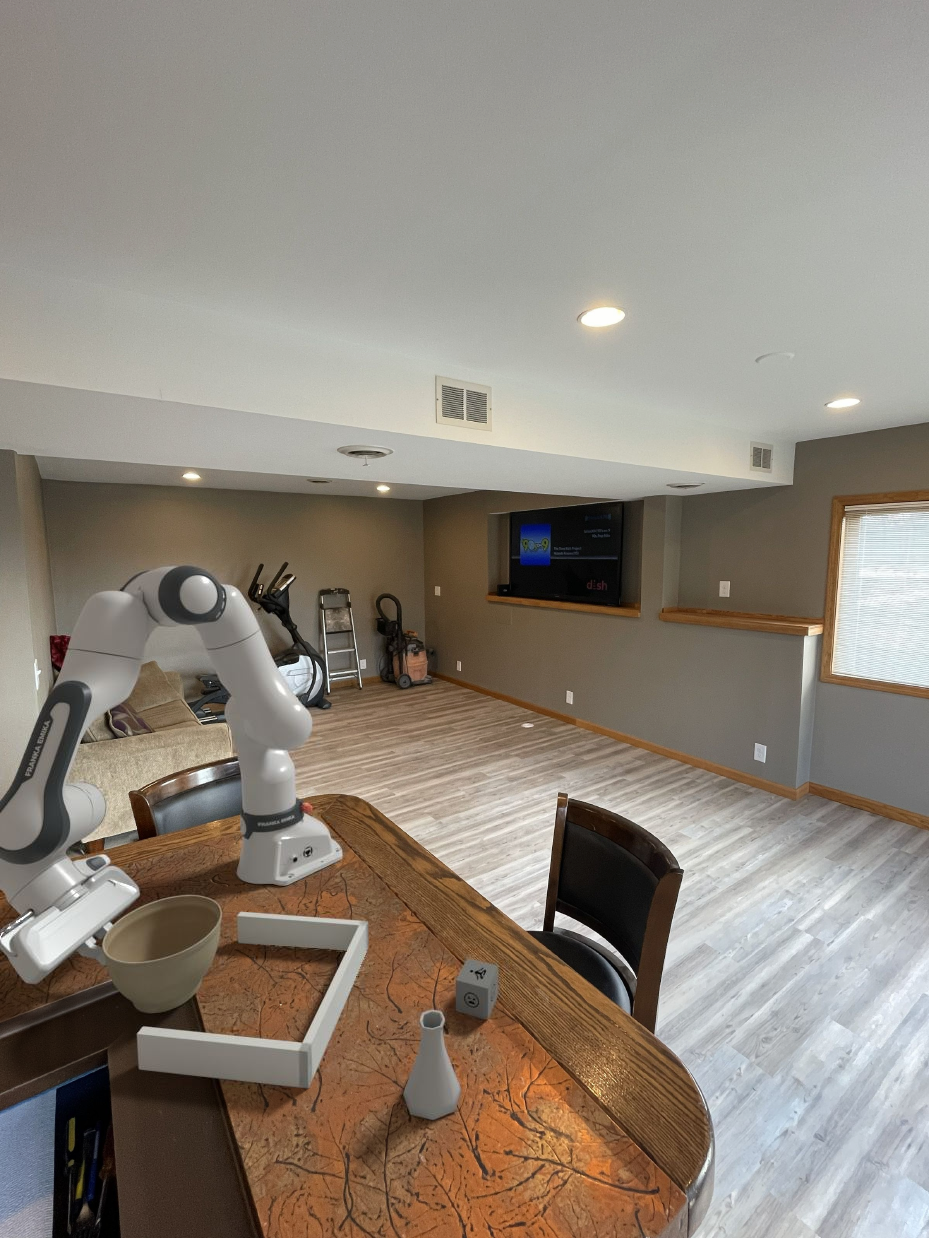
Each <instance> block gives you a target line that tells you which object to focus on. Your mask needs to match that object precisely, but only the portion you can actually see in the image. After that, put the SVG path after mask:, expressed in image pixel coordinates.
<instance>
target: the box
mask: <svg viewBox="0 0 929 1238" xmlns="http://www.w3.org/2000/svg"><path fill="white" fill-rule="evenodd" d="M236 918H237V919H236V921H237V922H236V923H237V924H236V925H237V943H238V944H246V945H247V944H249V945H258V944H260V945H261V946H270V945H275V946H274V947H282V946H294V947H295V946H297V947H298V946H299V947H310V948H311V947H312V948H329V949H338V950H347V952H345V954H344V956H343V958H342V960H341V962H340V964H339V966H338V969H337V970H336V972H335V974H334V977H333V979H332V980H331V982H330V985H329V987H328V989H327V991H326V993H325V995H324V998H323V999H322V1001H321V1004H320V1006H319V1008H318V1010H317V1012H316V1014H315V1016H314V1018H313V1020H312V1023H311V1024H310V1026H309V1028H308V1031H307V1032H306V1034H305V1036H304V1039H303V1040H302V1042H298V1041H288V1040H280V1039H268V1038H259V1037H250V1036H240V1035H230V1034H219V1033H209V1032H201V1031H191V1030H181V1029H173V1028H172V1029H171V1028H164V1027H163V1028H161V1027H152V1026H142V1027H141V1028H140V1030H139V1031H138V1032H137V1033H136V1042H137V1060H138V1061H137V1062H138V1070H143V1071H150V1072H151V1071H152V1072H158V1073H166V1074H167V1073H169V1074H176V1075H177V1074H178V1075H185V1076H195V1077H202V1078H203V1077H205V1078H213V1079H221V1080H222V1079H223V1080H229V1081H231V1080H232V1081H239V1082H240V1081H241V1082H247V1083H257V1084H265V1085H274V1086H275V1085H276V1086H283V1087H293V1088H302V1089H310V1086H311V1084H312V1082H313V1079H314V1077H315V1075H316V1073H317V1070H318V1068H319V1065H320V1063H321V1061H322V1058H323V1056H324V1053H325V1051H326V1049H327V1047H328V1045H329V1042H330V1040H331V1038H332V1035H333V1032H334V1030H335V1028H336V1026H337V1023H338V1021H339V1019H340V1016H341V1014H342V1012H343V1009H344V1007H345V1005H346V1003H347V1001H348V997H349V995H350V993H351V990H352V989H351V988H353V986H354V983H355V982H354V981H356V979H357V977H358V975H359V972H360V970H359V969H361V968H360V967H362V965H363V963H364V961H363V960H365V958H366V956H365V955H367V954H366V953H368V951H369V949H370V948H369V921H367V920H356V919H355V920H354V919H343V918H331V917H330V918H329V917H317V916H316V917H315V916H301V915H287V914H277V913H263V912H262V913H261V912H249V911H248V912H247V911H239V913H238V914H237V915H236ZM277 945H278V946H277ZM294 947H293V948H294ZM368 948H369V949H368ZM367 950H368V951H367ZM364 957H365V958H364ZM362 962H363V963H362ZM361 964H362V965H361ZM357 974H358V975H357ZM356 976H357V977H356Z"/></svg>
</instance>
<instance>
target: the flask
mask: <svg viewBox="0 0 929 1238" xmlns="http://www.w3.org/2000/svg"><path fill="white" fill-rule="evenodd" d="M445 1021H446V1019H445V1016H444V1013H443V1012H442V1011H441V1010H436V1009H429V1010H426V1011H423V1012H421V1014H420V1017H419V1019H418V1024H419V1026H420V1033H421V1036H420V1041H419V1042H420V1043H419V1047H418V1051H417V1054H416V1057H415V1060H414V1063H413V1066H412V1069H411V1072H410V1074H409V1076H408V1080H407V1082H406V1084H405V1088H404V1091H403V1097H404V1100H405V1101H404V1102H405V1103H406V1107H407V1109H408V1111H409V1112H408V1113H409V1115H411V1116H413V1117H414V1116H415V1117H420V1118H424V1119H426V1120H427V1119H428V1120H432V1121H434V1120H436V1119H439V1118H441V1117H444V1116H446V1115H447V1116H448V1114H451V1113H454V1112H457V1105H458V1103H459V1100H460V1095H461V1092H462V1088H461V1086H460V1083H459V1080H458V1078H457V1075H456V1072H455V1070H454V1068H453V1065H452V1063H451V1060H450V1057H449V1054H448V1052H447V1049H446V1044H445V1039H444V1035H443V1034H444V1032H443V1031H444V1025H445Z"/></svg>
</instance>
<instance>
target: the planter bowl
mask: <svg viewBox="0 0 929 1238" xmlns="http://www.w3.org/2000/svg"><path fill="white" fill-rule="evenodd" d="M222 915H223V911H222V908H221V906H220V904H219V903H218V901H216V900H214V899H212V898H210V897H206V896H202V895H196V894H184V895H176V896H169V897H165V898H162V899H158V900H155V901H151V902H149V903H147V904H144V905H142V906H139V907H138V908H136V909H134V910H132V911H131V912H129V913H127V914H126V915H124V916H122V917H120V918H119V919H118V920H117V921H116V922H115V923H114V924H112V925H113V926H112V927H111V928H110V929H109V930H108V932H107V933H106V935H105V937H104V939H103V938H102V943H101V945H102V946H101V947H102V949H103V954H104V957H105V959H106V965H105V966H106V969H107V973H108V975H109V977H110V979H111V981H112V983H113V985H114V987H115V988H116V990H118V992H119V993H120V994H121V995H123V996H124V997H125V998H126V999H128V1000H130V1001H131V1002H132V1004H133V1006H134V1007H135V1009H136V1010H138V1011H139V1012H142V1013H145V1014H158V1013H164V1012H167V1011H170V1010H173V1009H175V1008H178V1007H179V1006H181V1005H183V1004H185V1003H186V1002H188V1001H189V1000H190V999H192V998H193V996H194V995H195V994H196V993H197V992H198V990H199V989H200V987H201V985H202V982H203V978H204V977H205V975H206V974H207V972H208V970H209V969H210V967H211V965H212V963H213V960H214V958H215V955H216V952H217V950H218V946H219V943H220V942H219V941H220V937H221V923H222V919H223V918H222V917H223V916H222Z"/></svg>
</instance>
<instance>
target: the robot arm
mask: <svg viewBox="0 0 929 1238" xmlns="http://www.w3.org/2000/svg"><path fill="white" fill-rule="evenodd" d="M184 625H185V626H193V627H194V628H195V629H196V632H198V633H199V635H200V639H201V641H202V643H203V646H204V649H205V652H206V653H207V654H208V657H209V660H210V661H211V665H212V666H213V668H214V670H215V672H216V675H217V677H218V680H219V682H220V683H221V685H222V686H223V687H224V688H225V689H226V690H227V692H228V693H229V694H230V697H229V698H228V699H227V702H226V703H225V706H224V718H225V721H226V722H227V724H228V727H229V729H230V733H231V735H232V740H233V744H234V748H235V752H236V753H235V754H236V757H237V761H238V765H239V770H240V778H241V779H240V780H241V796H242V797H241V799H242V800H241V801H242V805H241V808H240V816H239V821H240V822H239V823H240V824H239V825H240V832H241V836H242V839H241V850H240V855H239V861H238V865H237V868H236V875H237V877H238V879H240V880H241V881H243V882H246V883H249V884H254V885H265V884H267V885H268V884H269V885H270V884H271V885H272V884H273V885H277V886H281V887H282V886H284V887H285V886H288V885H291V884H294V883H295V882H296V881H299V880H302V879H304V878H305V877H307V876H310V875H311V874H314V873H315V872H317V871H320V870H322V869H325V868H327V867H328V866H330V865H333V864H335V863H337V862H339V861H341V860H342V859H343V849H342V847H341V846H340V844H339V843H338V842H337V841H336V840H335V839H333V838H332V837H331V833H330V830H329V828H328V827H327V825H325V824H324V823H323V822H322V821H321V820H319V819H317V818H316V817H314V816H311V815H310V814H311V813H312V811H313V806H312V805H311V803H309V802H305V801H304V800H303V799H301V798H299V797H297V795H296V794H297V791H296V788H297V786H296V785H297V784H296V783H297V782H296V767H295V764H294V762H293V760H292V758H291V755H290V754H289V752H288V751H293V750H297V749H299V747H301V746H302V745H304V744H305V743H306V741H307V740H308V739H309V737H310V735H311V733H312V729H313V718H312V715H311V713H310V711H309V710H308V709H307V708H306V707H305V705H304V704H302V702H301V701H300V699H298V697H297V696H296V694H295V693H294V691H293V689H292V688H291V687H290V684H289V683H288V681H287V680H286V678H285V677H284V675H283V674H282V671H280V669H279V668H278V666H277V664H276V662H275V661H274V658H273V657H272V653H271V652H270V650H269V647H268V643H266V640H265V637H264V635H263V632H262V629H261V628H260V624H259V623H258V620H257V618H256V616H255V614H254V612H253V610H252V609H251V607H250V604H249V603H248V602H247V600H246V598H245V597H244V596H243V594H242V593H241V591H240V590H239V589H238V588H237V587H235V586H233V585H231V584H223V583H219V581H218V580H217V578H216V577H215V576H213V574H212V573H210V572H209V571H207V570H205V569H203V568H200V567H198V566H193V565H178V566H177V565H174V566H173V565H172V566H171V565H170V566H162V567H158V568H155V569H152V570H145V571H141V572H139V573H137V574H135V575H133V576H131V578H130V579H128V580H127V581H126V582H125V584H124V585H123V586H122V587H120V589H119V590H104V591H99V592H97V593H94V594H93V595H92V596H90V597H89V598H88V600H87V601H86V602H85V605H84V607H83V608H82V610H81V612H80V614H79V617H78V619H77V621H76V623H75V626H74V628H73V631H72V633H71V636H70V639H69V642H68V645H67V649H66V653H65V656H64V659H63V662H62V666H61V670H60V671H59V673H58V677H57V679H56V681H55V683H54V686H53V687H52V689H51V691H50V692H49V694H48V696H47V698H46V700H45V702H44V703H43V706H42V707H41V710H40V712H39V713H38V717H37V719H36V722H35V724H34V727H33V728H32V731H31V735H30V737H29V740H28V743H27V745H26V747H25V750H24V752H23V755H22V758H21V761H20V764H19V766H18V769H17V771H16V773H15V775H14V779H13V780H12V783H11V784H10V786H9V788H8V789H7V791H6V792H5V794H4V795H3V797H1V799H0V890H1V891H2V892H3V894H5V898H6V900H7V901H8V903H9V904H10V905H11V906H12V908H13V909H14V910H15V911H17V913H18V914H19V916H18V917H17V918H16V919H14V920H13V921H12V922H9V923H8V924H6V925H4V926H3V927H2V928H1V929H0V950H1V951H2V952H3V953H4V954H5V955H6V956H7V958H8V960H9V962H10V964H11V966H12V967H13V968H14V970H15V971H16V973H17V974H18V975H19V977H20V978H21V979H22V980H23V981H24V983H26V984H30V985H31V984H32V985H37V984H38V983H40V982H41V981H42V980H43V979H45V978H46V977H47V976H48V975H50V973H52V972H53V971H54V970H55V969H57V968H58V967H59V966H60V965H62V963H64V962H65V961H66V960H67V959H68V958H70V957H71V956H72V955H73V954H74V953H76V952H77V953H78V954H79V955H80V956H82V957H83V958H84V957H85V958H89V959H94V960H96V961H97V962H98V963H99V964H100V965H101V966H107V965H106V959H105V957H104V954H103V949H102V946H100V945H96V943H97V940H96V939H95V938H94V937H96V938H97V939H99V941H100V940H103V939H104V937H105V935H106V933H107V932H108V930H109V929H110V928H111V927H112V926H113V925H114V924H113V923H112V922H113V921H114V920H115V919H116V918H117V917H119V916H120V915H121V914H122V913H124V911H126V910H127V909H129V907H130V906H132V905H133V903H135V902H136V900H137V899H139V897H140V887H139V886H138V885H137V883H136V882H135V881H134V880H133V879H132V878H131V877H130V876H129V875H128V874H126V872H125V871H124V870H122V869H121V868H119V867H118V866H115V865H110V864H111V862H112V861H111V859H110V857H108V855H106V854H105V853H104V854H97V855H92V856H90V857H86V858H82V859H76V860H74V861H72V860H71V858H69V857H68V855H67V853H66V851H67V850H68V849H69V848H70V847H71V846H72V845H75V844H76V843H77V842H80V841H82V840H84V839H85V838H87V837H89V836H90V835H91V834H92V833H93V832H95V831H96V829H98V827H100V826H101V824H102V823H103V820H104V819H105V816H106V813H107V800H106V798H105V795H104V794H103V792H102V791H101V789H99V787H97V786H96V785H94V784H93V783H90V782H86V781H73V782H72V781H71V782H68V779H69V776H70V773H71V771H72V767H73V764H74V762H75V760H76V756H77V753H78V751H79V748H80V744H81V741H82V739H83V737H84V735H85V734H86V732H87V730H88V729H89V728H90V726H91V725H92V724H93V723H94V722H95V721H96V720H97V719H99V718H100V717H101V716H103V715H104V714H106V713H107V712H108V711H110V710H112V709H114V708H115V707H117V706H119V705H120V704H121V703H123V702H124V701H125V700H127V699H128V698H129V697H130V696H131V694H132V692H133V690H134V688H135V685H136V683H137V681H138V680H139V677H140V672H141V668H142V665H143V660H144V655H145V652H146V645H147V643H148V640H149V638H150V636H151V635H152V633H153V632H154V631H155V630H156V629H157V628H158V627H165V628H166V627H167V628H168V627H169V628H172V627H173V628H174V627H178V626H184Z"/></svg>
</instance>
